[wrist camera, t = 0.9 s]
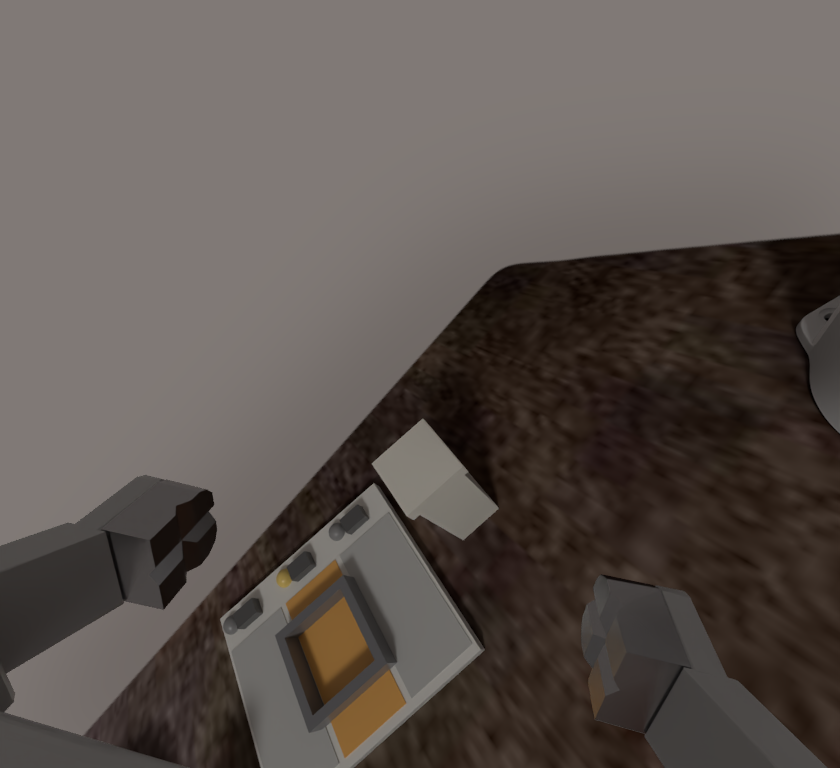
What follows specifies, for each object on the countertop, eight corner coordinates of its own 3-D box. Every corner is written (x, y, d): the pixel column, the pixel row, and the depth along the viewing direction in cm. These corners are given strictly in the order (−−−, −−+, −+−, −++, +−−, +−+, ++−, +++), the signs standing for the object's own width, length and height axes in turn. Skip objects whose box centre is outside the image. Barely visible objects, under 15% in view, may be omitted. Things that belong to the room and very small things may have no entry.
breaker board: (379, 486, 46) (364, 477, 43) (485, 649, 35) (473, 650, 32) (228, 619, 46) (204, 617, 43) (288, 826, 35) (260, 841, 32)
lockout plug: (470, 468, 43) (422, 418, 33) (504, 508, 40) (463, 466, 30) (431, 503, 43) (371, 463, 33) (462, 546, 40) (406, 516, 30)
